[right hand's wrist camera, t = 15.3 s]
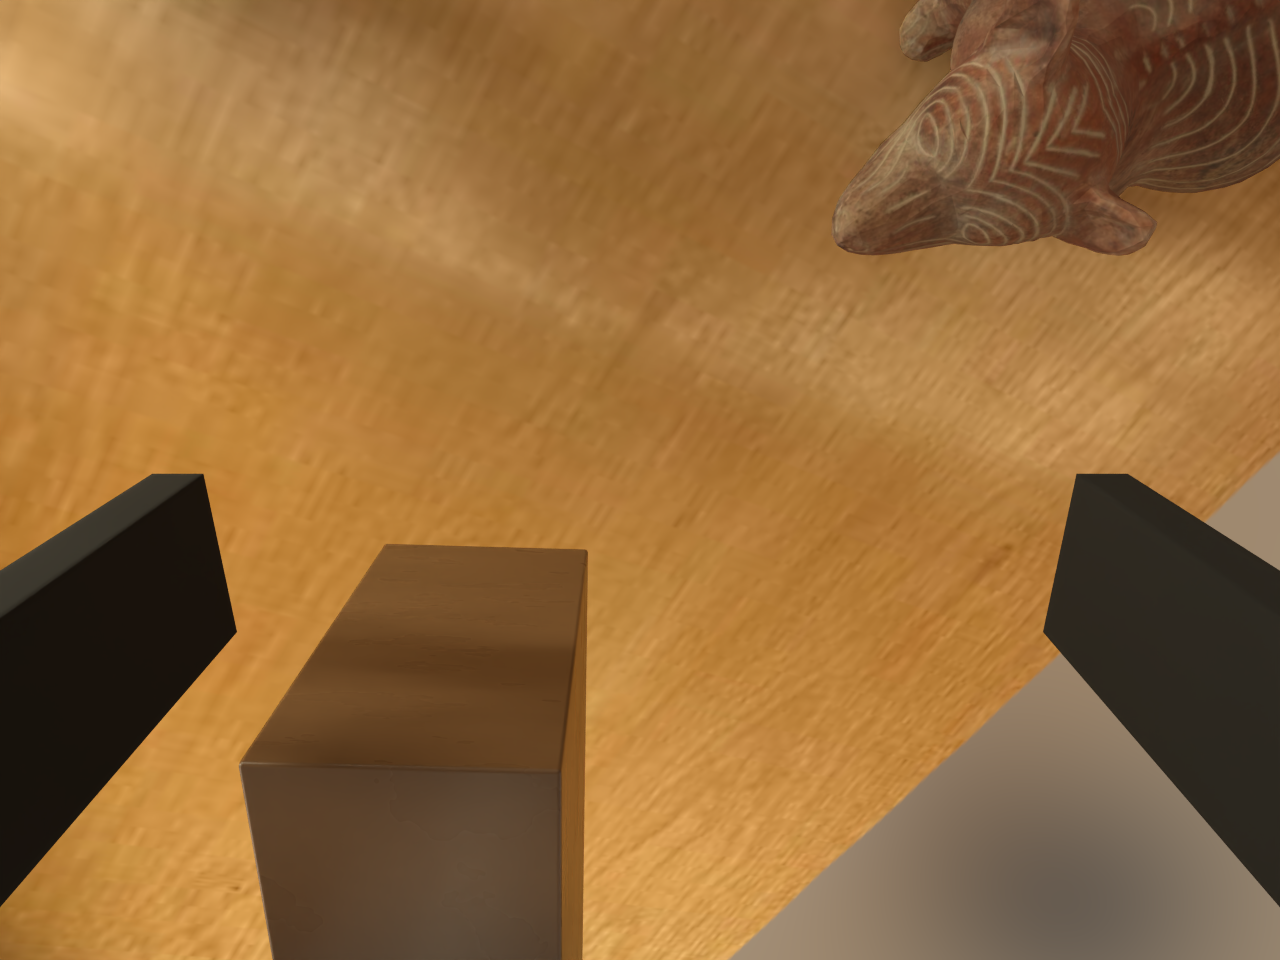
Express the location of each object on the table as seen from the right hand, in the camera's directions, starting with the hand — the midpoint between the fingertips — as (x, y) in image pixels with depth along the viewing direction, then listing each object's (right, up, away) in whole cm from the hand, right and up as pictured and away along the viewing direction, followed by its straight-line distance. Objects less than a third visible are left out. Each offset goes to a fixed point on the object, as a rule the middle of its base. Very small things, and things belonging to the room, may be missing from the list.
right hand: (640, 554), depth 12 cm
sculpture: (+18, +19, +25) cm, 36 cm away
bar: (-4, -11, +13) cm, 17 cm away
